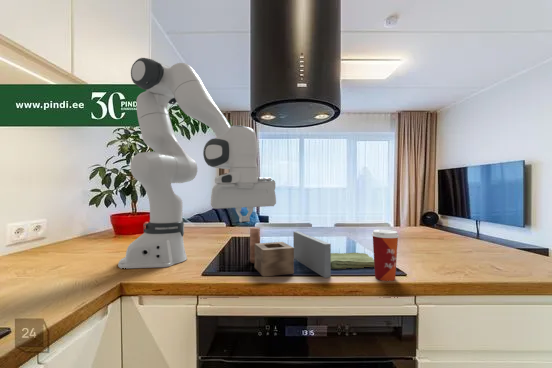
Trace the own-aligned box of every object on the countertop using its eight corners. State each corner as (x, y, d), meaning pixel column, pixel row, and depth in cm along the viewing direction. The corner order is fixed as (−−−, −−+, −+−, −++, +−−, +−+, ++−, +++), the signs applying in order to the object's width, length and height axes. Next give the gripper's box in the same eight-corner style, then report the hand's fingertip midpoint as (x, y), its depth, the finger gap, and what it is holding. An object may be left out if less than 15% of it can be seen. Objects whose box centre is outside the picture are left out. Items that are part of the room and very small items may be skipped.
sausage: (251, 263, 102) (251, 229, 102) (248, 260, 105) (249, 227, 105) (260, 262, 103) (261, 228, 103) (258, 260, 107) (258, 227, 107)
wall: (324, 277, 87) (324, 244, 87) (293, 258, 109) (293, 231, 109) (330, 277, 87) (330, 243, 87) (298, 257, 110) (298, 231, 110)
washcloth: (381, 269, 97) (381, 259, 97) (329, 271, 95) (330, 261, 95) (365, 259, 110) (365, 250, 110) (320, 260, 108) (320, 251, 108)
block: (263, 276, 88) (263, 250, 88) (254, 267, 97) (254, 243, 97) (293, 273, 91) (293, 247, 91) (282, 264, 100) (282, 241, 100)
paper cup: (394, 284, 81) (395, 234, 81) (367, 278, 86) (367, 231, 86) (402, 277, 87) (402, 230, 87) (376, 272, 92) (376, 228, 92)
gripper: (272, 177, 97) (272, 219, 97) (209, 178, 90) (210, 222, 90) (278, 177, 91) (279, 221, 91) (212, 177, 84) (213, 225, 84)
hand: (244, 222), depth 90 cm, fingers closed
